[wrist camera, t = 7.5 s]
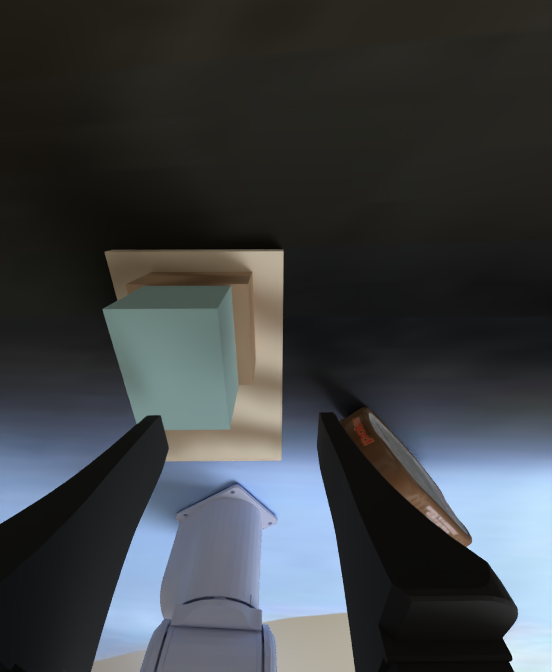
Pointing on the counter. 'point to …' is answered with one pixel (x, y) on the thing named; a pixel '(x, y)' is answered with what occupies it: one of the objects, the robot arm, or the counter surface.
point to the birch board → (266, 392)
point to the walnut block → (240, 301)
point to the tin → (403, 471)
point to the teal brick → (177, 354)
